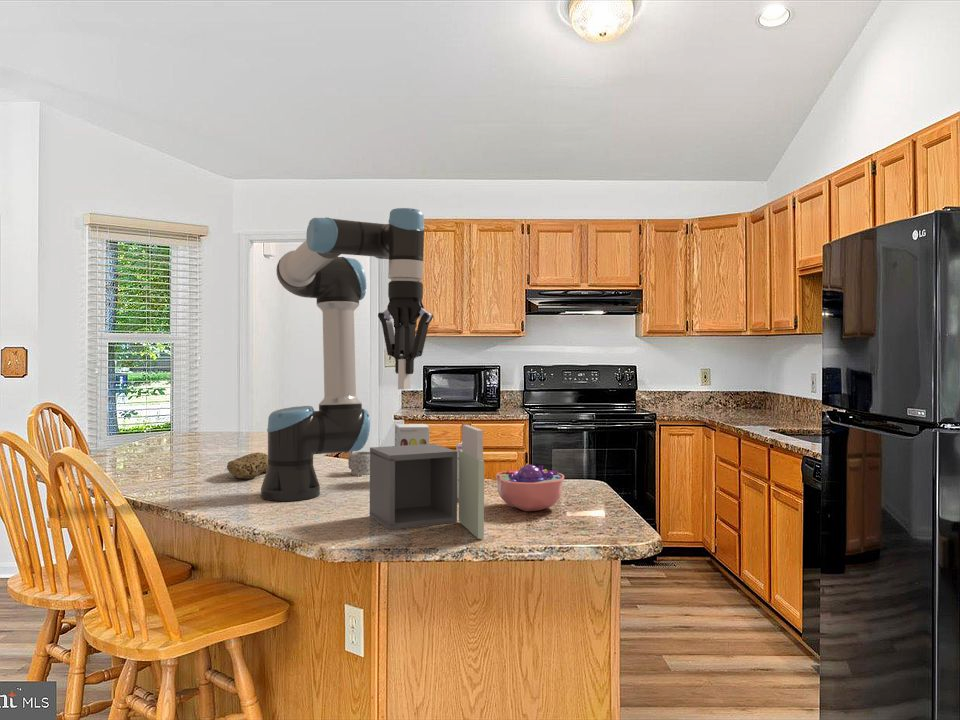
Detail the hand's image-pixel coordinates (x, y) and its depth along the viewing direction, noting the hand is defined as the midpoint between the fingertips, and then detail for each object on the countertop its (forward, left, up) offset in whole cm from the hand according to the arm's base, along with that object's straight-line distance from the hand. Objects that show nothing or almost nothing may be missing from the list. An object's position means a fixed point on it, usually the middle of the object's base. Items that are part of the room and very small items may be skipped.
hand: (404, 388), depth 153 cm
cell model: (-4, +34, -31) cm, 46 cm away
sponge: (-78, -21, -31) cm, 87 cm away
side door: (+10, +12, -30) cm, 33 cm away
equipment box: (-6, +4, -30) cm, 31 cm away
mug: (-69, +10, -31) cm, 76 cm away
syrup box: (-22, +26, -30) cm, 46 cm away
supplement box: (-49, +20, -31) cm, 61 cm away
